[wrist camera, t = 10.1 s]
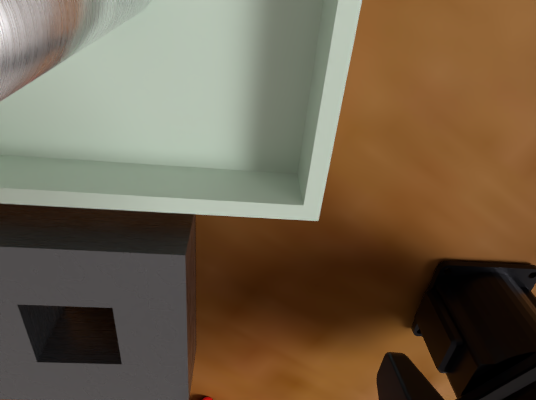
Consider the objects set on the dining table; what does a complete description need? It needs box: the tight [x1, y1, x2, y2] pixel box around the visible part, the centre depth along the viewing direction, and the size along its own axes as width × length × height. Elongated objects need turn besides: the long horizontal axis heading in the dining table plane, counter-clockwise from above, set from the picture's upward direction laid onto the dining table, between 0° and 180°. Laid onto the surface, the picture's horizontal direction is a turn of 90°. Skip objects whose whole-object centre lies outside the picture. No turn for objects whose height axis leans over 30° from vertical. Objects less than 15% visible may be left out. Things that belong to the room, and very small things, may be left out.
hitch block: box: [0, 203, 196, 400], centre depth 23 cm, size 12×12×4 cm
